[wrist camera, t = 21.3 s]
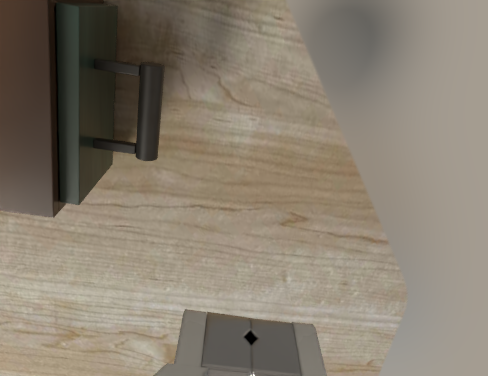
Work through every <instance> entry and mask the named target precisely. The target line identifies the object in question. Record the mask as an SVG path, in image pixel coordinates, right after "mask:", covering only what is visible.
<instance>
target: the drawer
mask: <svg viewBox="0 0 488 376" xmlns="http://www.w3.org/2000/svg"><path fill="white" fill-rule="evenodd" d="M54 24H55V54H57V86H58V131H57V158H58V170H59V182H60V202H61V203H68V204H76V205H80V203H81V202H82V201H83V200H84V198H85V197H86V196H87V195H88V193H89V192H90V191H91V190H92V189H93V187H94V186H95V185H96V184H97V182H98V181H99V180H100V179H101V177H102V176H103V175H104V174H105V173H106V171H107V170H108V169H109V168H110V166H111V165H112V160H113V151H116V152H123V153H130V154H135V153H136V158H138V159H140V160H143V161H153V160H156V159H157V158H158V145H159V132H160V119H161V106H162V93H163V80H164V65H162V64H159V63H154V62H142V63H141V65H138V64H132V63H125V62H119V61H116V36H117V6H114V5H108V4H102V3H58V2H57V3H56V8H55V7H54ZM115 72H116V73H122V74H128V75H135V76H140V86H139V105H138V123H137V141H136V143H132V142H125V141H118V140H113V129H114V98H115Z"/></svg>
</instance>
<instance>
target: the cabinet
mask: <svg viewBox="0 0 488 376" xmlns="http://www.w3.org/2000/svg"><path fill="white" fill-rule="evenodd" d="M57 2H58V3H102V4H103V0H0V211H7V212H14V213H22V214H30V215H37V216H45V217H55V216H56V214H57V213H58V212H59V211H60V210H61V209H62V208H63V207H64V205H65V204H66V203H61V202H60V182H59V170H58V158H57V113H56V69H55V24H54V7H55V8H56V3H57Z"/></svg>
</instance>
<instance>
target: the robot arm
mask: <svg viewBox="0 0 488 376" xmlns="http://www.w3.org/2000/svg"><path fill="white" fill-rule="evenodd" d="M154 376H327V374H326V370H325V366H324V362H323V358H322V354H321V349H320V345H319V341H318V337H317V333H316V329H315V327H314V325H313V324H305V323H294V322H292V323H289V322H280V321H271V320H262V319H253V318H246V317H239V316H232V315H225V314H218V313H211V312H207V313H206V312H201V311H194V310H187V309H185V311H184V313H183V318H182V324H181V329H180V335H179V340H178V345H177V351H176V356H175V361H174V364H168V363H167V364H166V365H165V366H164V367H163V368H161V369H160V370H159V371H158V372H157V373H156V374H155V375H154Z"/></svg>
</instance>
